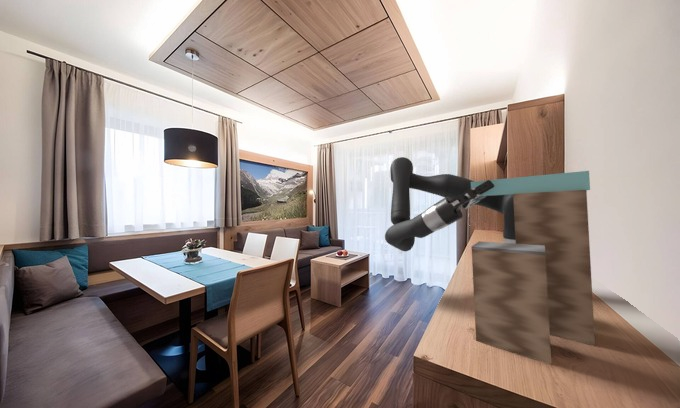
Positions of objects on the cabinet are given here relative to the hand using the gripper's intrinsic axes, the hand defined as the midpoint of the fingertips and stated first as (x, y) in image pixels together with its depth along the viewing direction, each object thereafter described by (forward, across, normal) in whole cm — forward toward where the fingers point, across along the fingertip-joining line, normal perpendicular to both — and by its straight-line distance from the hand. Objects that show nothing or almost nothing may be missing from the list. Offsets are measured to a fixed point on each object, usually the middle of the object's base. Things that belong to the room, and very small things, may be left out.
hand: (495, 183), depth 59 cm
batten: (+3, 0, +6) cm, 6 cm away
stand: (-9, 0, +35) cm, 36 cm away
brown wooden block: (-15, -12, +32) cm, 37 cm away
